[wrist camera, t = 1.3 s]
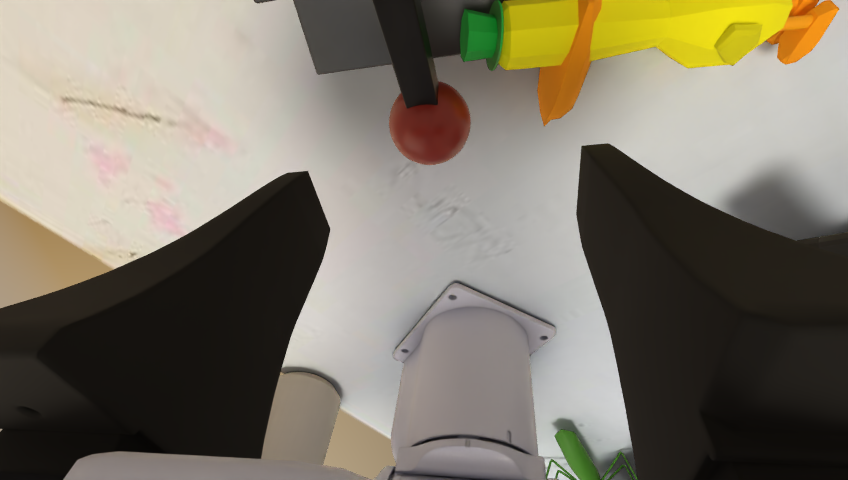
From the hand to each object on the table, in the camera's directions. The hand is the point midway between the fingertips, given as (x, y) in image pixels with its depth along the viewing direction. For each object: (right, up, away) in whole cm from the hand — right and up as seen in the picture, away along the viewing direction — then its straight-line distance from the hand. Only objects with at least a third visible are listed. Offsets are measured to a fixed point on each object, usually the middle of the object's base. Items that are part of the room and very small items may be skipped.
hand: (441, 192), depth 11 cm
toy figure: (+13, +6, +3) cm, 15 cm away
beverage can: (-11, -14, +26) cm, 31 cm away
